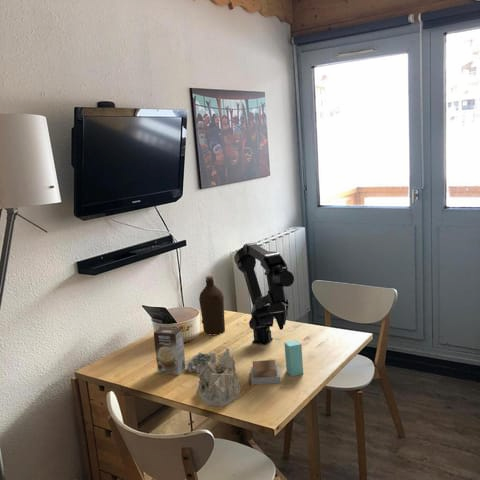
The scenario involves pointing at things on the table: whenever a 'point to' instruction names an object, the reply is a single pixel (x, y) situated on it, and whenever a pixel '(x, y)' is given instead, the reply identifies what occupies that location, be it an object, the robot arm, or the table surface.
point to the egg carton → (195, 360)
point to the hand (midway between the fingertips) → (282, 327)
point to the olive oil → (212, 308)
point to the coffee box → (169, 350)
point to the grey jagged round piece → (219, 381)
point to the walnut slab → (264, 368)
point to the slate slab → (266, 378)
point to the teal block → (293, 357)
